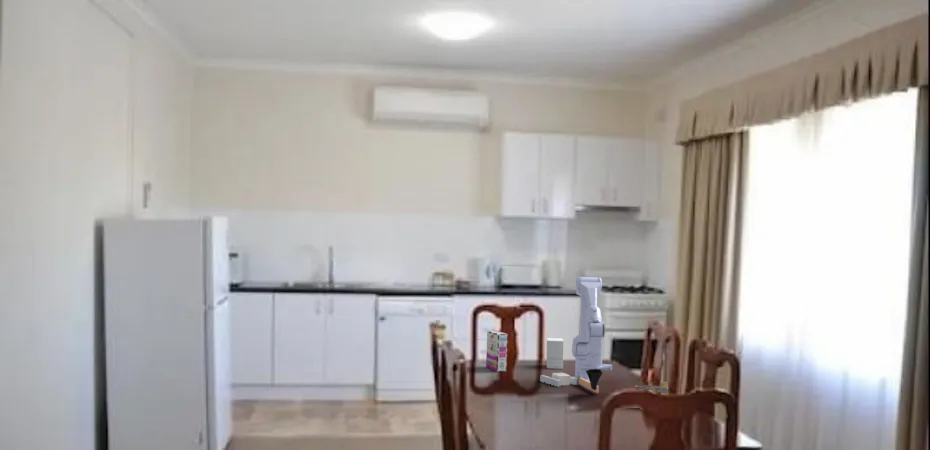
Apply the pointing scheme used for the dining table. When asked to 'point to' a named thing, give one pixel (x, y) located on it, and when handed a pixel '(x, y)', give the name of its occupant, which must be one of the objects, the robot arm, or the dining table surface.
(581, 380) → the tan flat bar
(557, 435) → the dining table surface
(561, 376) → the white block
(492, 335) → the candy bar box
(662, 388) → the ruin model on sheet
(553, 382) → the dock
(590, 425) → the dining table surface
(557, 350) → the supplement box
